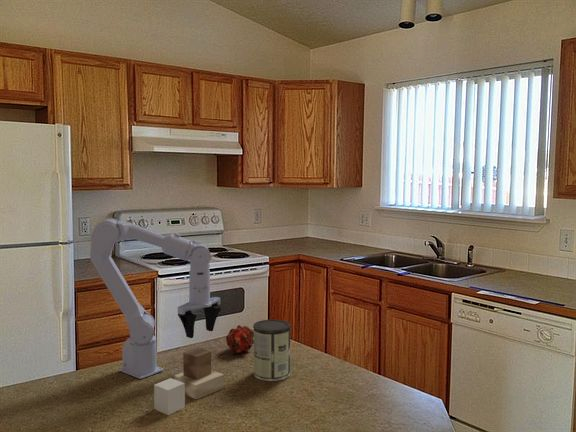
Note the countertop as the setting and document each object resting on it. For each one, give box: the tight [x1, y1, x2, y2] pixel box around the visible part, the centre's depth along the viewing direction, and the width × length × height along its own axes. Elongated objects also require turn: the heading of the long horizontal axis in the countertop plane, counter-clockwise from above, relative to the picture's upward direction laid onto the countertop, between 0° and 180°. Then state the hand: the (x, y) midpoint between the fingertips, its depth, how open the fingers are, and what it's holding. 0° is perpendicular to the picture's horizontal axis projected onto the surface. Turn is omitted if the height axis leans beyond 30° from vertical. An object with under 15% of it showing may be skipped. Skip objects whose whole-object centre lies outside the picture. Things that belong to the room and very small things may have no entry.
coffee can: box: [252, 319, 292, 382], centre depth 143 cm, size 10×10×14 cm
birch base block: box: [173, 369, 225, 400], centre depth 134 cm, size 9×9×4 cm
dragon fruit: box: [225, 324, 254, 355], centre depth 161 cm, size 8×8×12 cm
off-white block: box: [153, 377, 186, 416], centre depth 122 cm, size 5×5×6 cm
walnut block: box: [182, 347, 212, 380], centre depth 133 cm, size 5×5×6 cm
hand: (199, 333), depth 147 cm, fingers open, 7 cm apart
